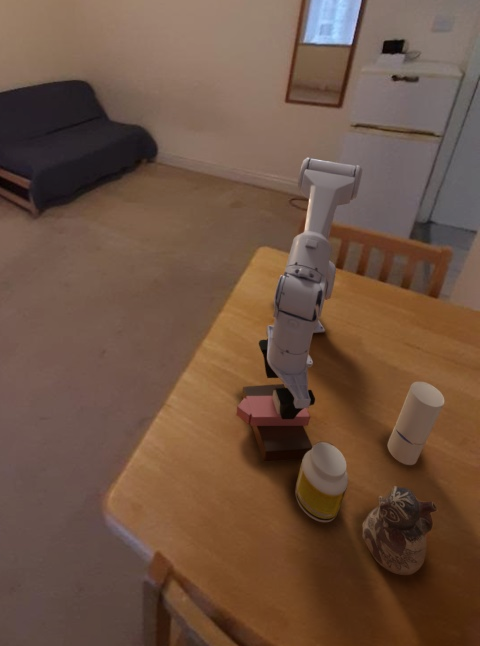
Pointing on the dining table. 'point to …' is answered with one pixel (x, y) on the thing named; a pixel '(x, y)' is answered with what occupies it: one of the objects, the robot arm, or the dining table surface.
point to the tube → (415, 422)
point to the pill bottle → (322, 482)
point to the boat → (268, 412)
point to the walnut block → (278, 433)
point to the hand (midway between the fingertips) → (279, 395)
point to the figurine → (399, 531)
